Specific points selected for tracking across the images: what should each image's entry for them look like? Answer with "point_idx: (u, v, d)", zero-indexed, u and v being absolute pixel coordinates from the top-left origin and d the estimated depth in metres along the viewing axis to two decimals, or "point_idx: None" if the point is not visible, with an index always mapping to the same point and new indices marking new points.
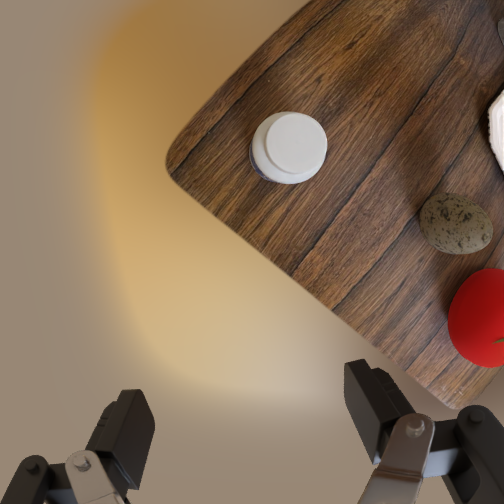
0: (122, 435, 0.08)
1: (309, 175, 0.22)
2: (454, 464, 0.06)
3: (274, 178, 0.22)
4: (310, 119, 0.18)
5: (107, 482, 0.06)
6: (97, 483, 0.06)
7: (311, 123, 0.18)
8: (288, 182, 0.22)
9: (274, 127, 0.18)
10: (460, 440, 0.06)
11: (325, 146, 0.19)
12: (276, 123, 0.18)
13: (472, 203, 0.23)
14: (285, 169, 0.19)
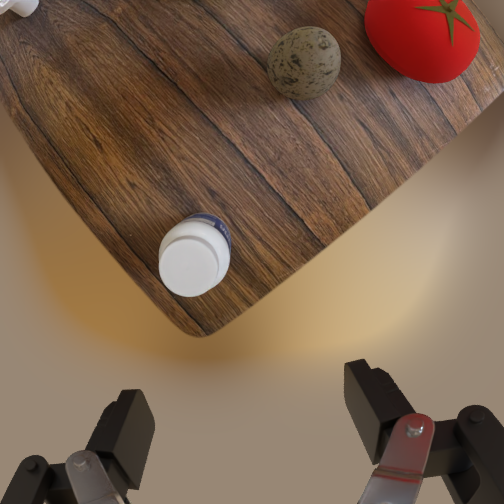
0: (122, 435, 0.08)
1: (223, 246, 0.22)
2: (454, 464, 0.06)
3: (221, 279, 0.23)
4: (166, 252, 0.20)
5: (107, 482, 0.06)
6: (97, 483, 0.06)
7: (170, 252, 0.20)
8: (227, 266, 0.23)
9: (171, 286, 0.21)
10: (460, 440, 0.06)
11: (193, 242, 0.20)
12: (167, 284, 0.21)
13: (281, 45, 0.19)
14: (212, 284, 0.21)
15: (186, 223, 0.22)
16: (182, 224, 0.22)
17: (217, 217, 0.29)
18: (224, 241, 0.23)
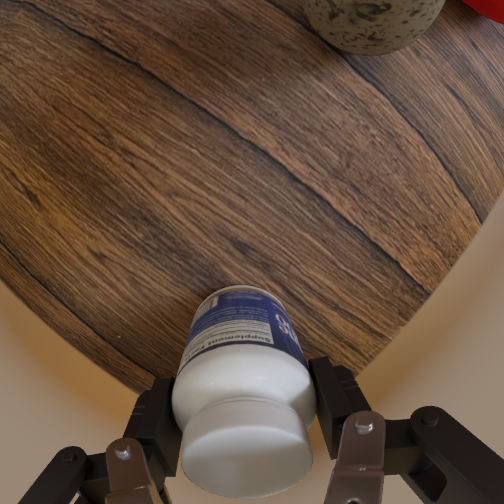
0: (161, 421, 0.09)
1: (305, 388, 0.10)
2: (409, 464, 0.07)
3: None
4: (191, 451, 0.07)
5: (145, 473, 0.06)
6: (135, 473, 0.06)
7: (201, 451, 0.07)
8: (315, 412, 0.10)
9: (219, 492, 0.08)
10: (414, 440, 0.07)
11: (252, 431, 0.07)
12: (210, 489, 0.08)
13: None
14: (302, 477, 0.08)
15: (216, 357, 0.10)
16: (208, 361, 0.10)
17: (260, 290, 0.16)
18: (304, 374, 0.10)
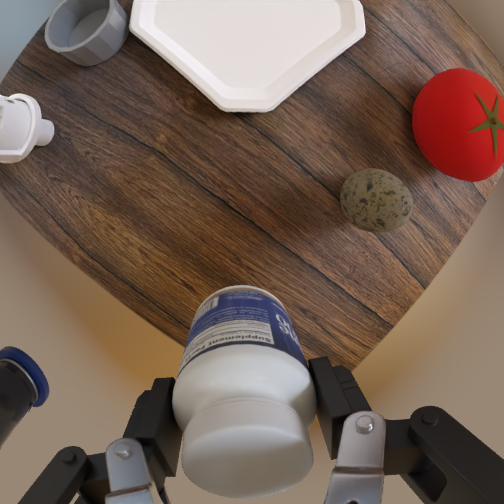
0: (161, 421, 0.09)
1: (306, 388, 0.10)
2: (409, 464, 0.07)
3: None
4: (191, 452, 0.07)
5: (145, 473, 0.06)
6: (135, 473, 0.06)
7: (201, 451, 0.07)
8: (315, 412, 0.10)
9: (219, 492, 0.08)
10: (414, 440, 0.07)
11: (253, 431, 0.07)
12: (211, 489, 0.08)
13: (363, 203, 0.24)
14: (303, 477, 0.08)
15: (216, 358, 0.10)
16: (208, 361, 0.10)
17: (261, 291, 0.16)
18: (305, 374, 0.10)
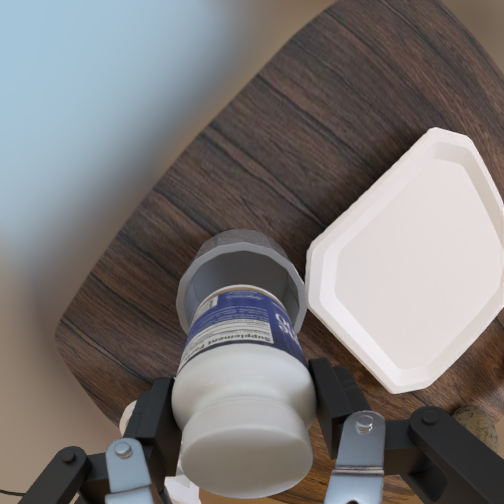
0: (161, 421, 0.09)
1: (306, 388, 0.10)
2: (409, 464, 0.07)
3: None
4: (190, 451, 0.07)
5: (145, 473, 0.06)
6: (135, 473, 0.06)
7: (200, 451, 0.07)
8: (315, 412, 0.10)
9: (219, 491, 0.08)
10: (414, 440, 0.07)
11: (252, 431, 0.07)
12: (210, 489, 0.08)
13: None
14: (302, 477, 0.08)
15: (216, 357, 0.10)
16: (207, 360, 0.10)
17: (260, 290, 0.16)
18: (304, 373, 0.10)
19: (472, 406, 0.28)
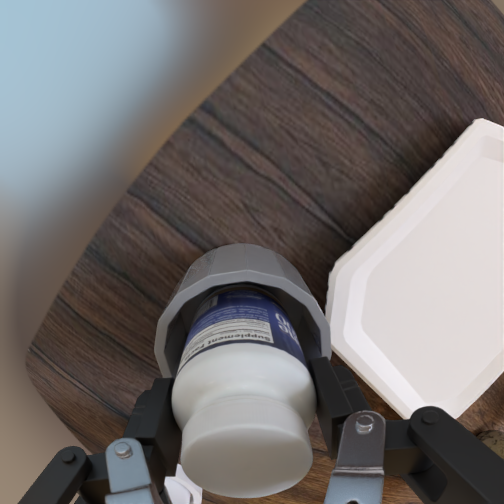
0: (161, 421, 0.09)
1: (305, 387, 0.10)
2: (409, 464, 0.07)
3: None
4: (190, 450, 0.07)
5: (145, 473, 0.06)
6: (135, 473, 0.06)
7: (200, 451, 0.07)
8: (315, 411, 0.10)
9: (219, 491, 0.08)
10: (414, 440, 0.07)
11: (252, 430, 0.07)
12: (210, 489, 0.08)
13: None
14: (302, 476, 0.08)
15: (216, 356, 0.10)
16: (207, 360, 0.10)
17: (260, 290, 0.16)
18: (304, 373, 0.10)
19: (495, 432, 0.22)
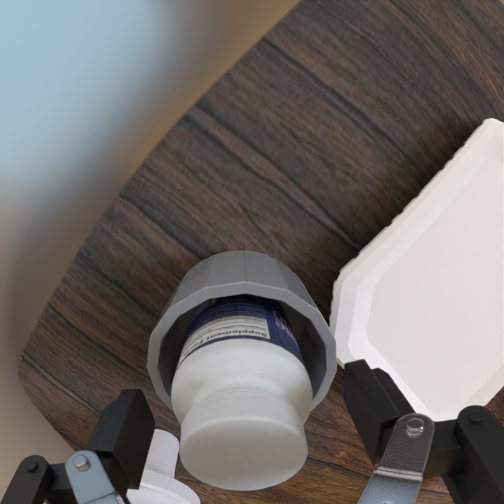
0: (122, 435, 0.08)
1: (301, 382, 0.10)
2: (454, 464, 0.06)
3: None
4: (189, 442, 0.08)
5: (107, 482, 0.06)
6: (97, 483, 0.06)
7: (198, 442, 0.08)
8: (310, 406, 0.11)
9: (216, 483, 0.08)
10: (460, 439, 0.06)
11: (248, 422, 0.08)
12: (208, 481, 0.08)
13: None
14: (298, 469, 0.08)
15: (214, 351, 0.10)
16: (206, 354, 0.10)
17: None
18: (300, 368, 0.10)
19: None
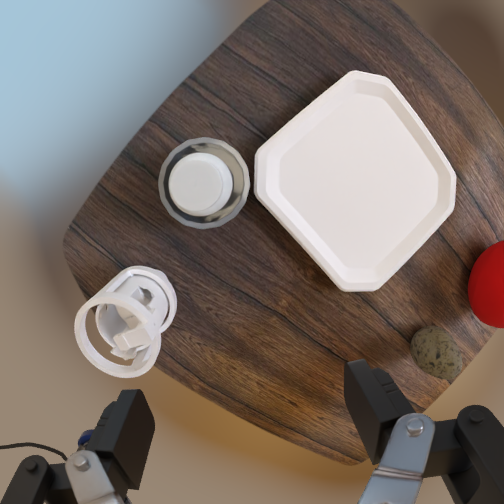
0: (122, 435, 0.08)
1: (224, 167, 0.25)
2: (454, 464, 0.06)
3: (227, 197, 0.25)
4: (174, 174, 0.22)
5: (107, 482, 0.06)
6: (97, 483, 0.06)
7: (178, 173, 0.22)
8: (231, 185, 0.25)
9: (183, 204, 0.23)
10: (460, 440, 0.06)
11: (197, 160, 0.22)
12: (179, 203, 0.23)
13: (432, 365, 0.31)
14: (218, 194, 0.23)
15: (189, 155, 0.25)
16: (185, 156, 0.25)
17: None
18: (224, 164, 0.25)
19: None
